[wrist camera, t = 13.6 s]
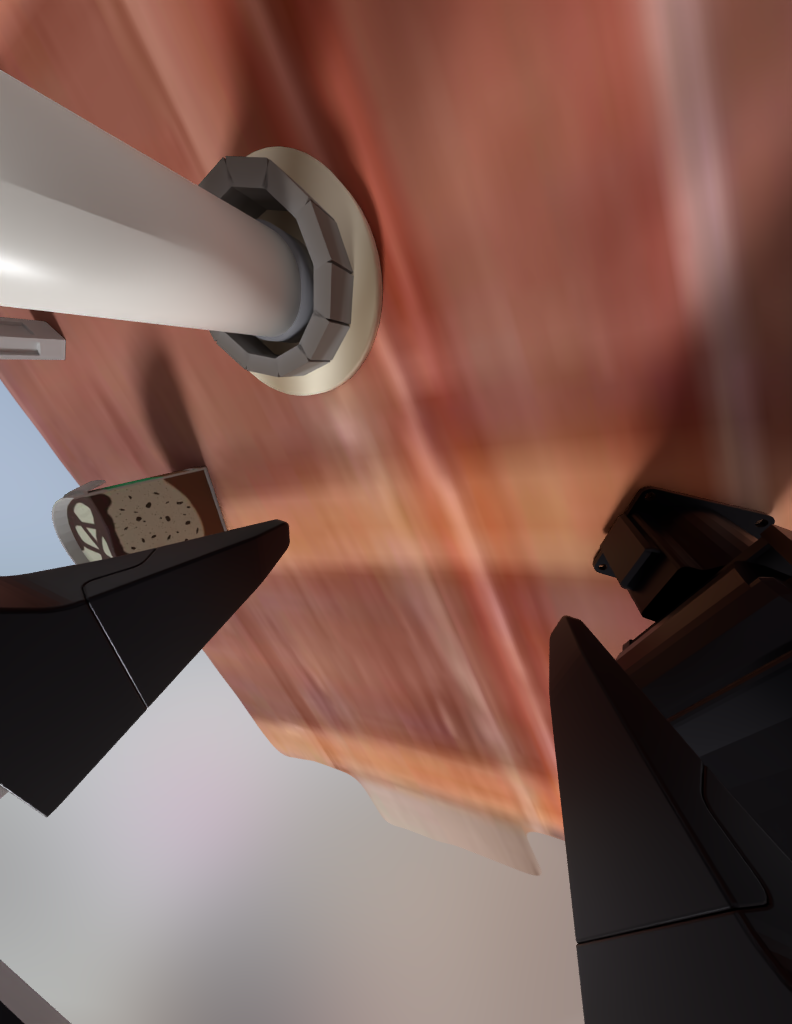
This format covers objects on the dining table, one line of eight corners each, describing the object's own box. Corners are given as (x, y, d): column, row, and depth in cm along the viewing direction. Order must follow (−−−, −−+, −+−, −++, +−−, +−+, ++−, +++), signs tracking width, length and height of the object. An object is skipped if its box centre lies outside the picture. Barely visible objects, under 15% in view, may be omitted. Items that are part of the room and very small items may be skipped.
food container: (155, 447, 29) (16, 481, 21) (201, 451, 28) (68, 490, 19) (195, 547, 35) (98, 605, 27) (235, 556, 33) (145, 621, 25)
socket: (396, 164, 14) (367, 109, 11) (371, 409, 20) (347, 417, 17) (206, 157, 17) (138, 110, 14) (233, 378, 23) (191, 380, 20)
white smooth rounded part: (325, 238, 16) (-200, -136, 4) (322, 349, 18) (5, 323, 7) (244, 230, 17) (-357, -83, 5) (253, 336, 20) (-126, 293, 8)
